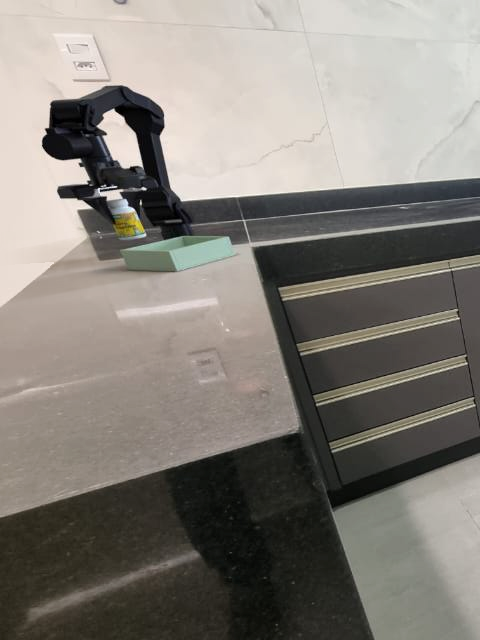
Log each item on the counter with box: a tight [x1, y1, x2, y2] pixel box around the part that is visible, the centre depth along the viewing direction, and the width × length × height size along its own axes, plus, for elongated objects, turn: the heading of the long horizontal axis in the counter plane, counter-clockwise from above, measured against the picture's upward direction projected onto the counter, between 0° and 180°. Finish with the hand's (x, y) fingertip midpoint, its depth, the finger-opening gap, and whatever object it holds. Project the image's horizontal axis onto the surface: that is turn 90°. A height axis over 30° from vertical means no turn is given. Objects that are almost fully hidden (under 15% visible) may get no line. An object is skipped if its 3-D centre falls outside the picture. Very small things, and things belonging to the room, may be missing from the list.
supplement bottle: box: [107, 198, 147, 241], centre depth 134 cm, size 5×5×10 cm
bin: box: [119, 235, 236, 272], centre depth 135 cm, size 16×16×5 cm
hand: (126, 222), depth 135 cm, fingers closed on supplement bottle, 5 cm apart
